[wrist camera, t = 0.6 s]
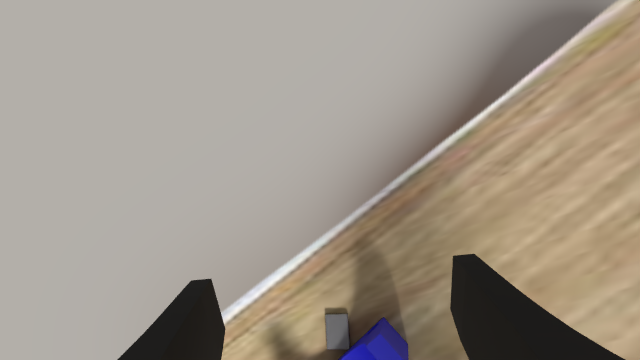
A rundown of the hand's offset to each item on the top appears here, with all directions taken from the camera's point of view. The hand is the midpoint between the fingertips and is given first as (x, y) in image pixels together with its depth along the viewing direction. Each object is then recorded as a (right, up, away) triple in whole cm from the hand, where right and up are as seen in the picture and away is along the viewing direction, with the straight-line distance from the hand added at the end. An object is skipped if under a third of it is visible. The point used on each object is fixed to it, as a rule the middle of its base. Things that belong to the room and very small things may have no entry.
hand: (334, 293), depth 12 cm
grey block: (+1, -10, +25) cm, 27 cm away
